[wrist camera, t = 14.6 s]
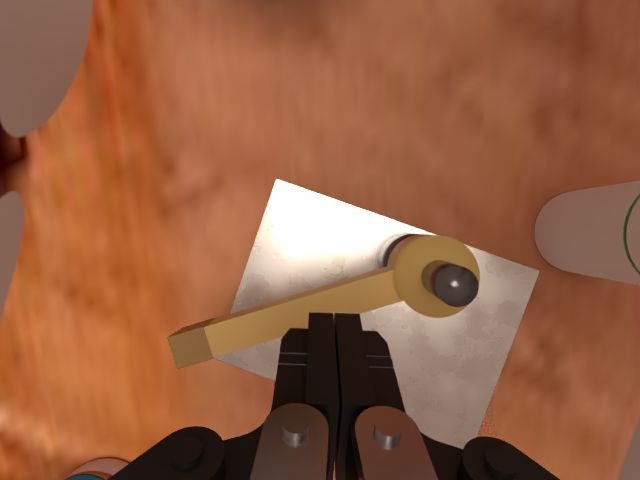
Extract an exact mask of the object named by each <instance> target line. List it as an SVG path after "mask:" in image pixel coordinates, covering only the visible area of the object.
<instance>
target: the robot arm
mask: <svg viewBox="0 0 640 480" xmlns="http://www.w3.org/2000/svg"><path fill="white" fill-rule="evenodd" d="M393 367H394V366H393V362H392V359H391V355H390V351H389V347H388V344H387V342H386V341H385V339H384V338H383V337H382V336H381V335H380V334H379V333H378V332H377V331H363V329H362V324H361V318H360V314H359V313H339V312H335V314H334V317H333V312H310V311H309V320H308V329H305V328H290V329H289V330H288V331H287V332H286V334H285V335H284V336H283V337H282V339H281V345H280V354H279V360H278V367H277V374H276V381H275V388H274V396H273V403H272V409H271V412H270V414H269V415H268V416H267V418H266V420H265V422H264V423H263V424H262V425H261V426H260V427H258V428H257V429H255V430H254V431H252V432H250V433H248V434H245V435H242V436H239V437H235V438H231V439H227V440H224V441H223V440H222V439H221V437H220V436H219V435H218V434H217V433H216V432H215V431H213V430H211V429H209V428H205V427H198V426H195V427H187V428H183V429H180V430H178V431H175V432H173V433H172V434H170V435H168V436H167V437H165V438H164V439H163V440H161V441H160V442H158V443H157V444H156V445H154V446H153V447H152V448H150V449H149V450H147V451H146V452H145V453H143V454H142V455H140V456H139V457H138V458H136V459H135V460H133V461H132V462H131V463H129V464H128V465H126V466H125V467H124V468H122V469H121V470H119V471H118V472H117V473H115V474H114V475H113V476H111V477H110V478H108V479H107V480H333V471H334V460H335V479H336V480H560V479H558V478H557V477H556V476H554V475H553V474H551V473H550V472H549V471H547V470H546V469H545V468H543V467H542V466H540V465H539V464H538V463H536V462H535V461H533V460H532V459H531V458H529V457H528V456H527V455H525V454H524V453H522V452H521V451H520V450H518V449H517V448H515V447H514V446H512V445H511V444H509V443H507V442H505V441H502V440H500V439H497V438H493V437H476V438H473V439H471V440H470V441H468V442H467V443H466V445H465V446H464V448H463V449H461V448H458V447H454V446H451V445H448V444H445V443H442V442H439V441H436V440H434V439H432V438H430V437H428V436H426V435H425V434H423V433H422V432H420V430H419V428H418V426H417V425H416V423H415V422H414V421H413V419H412V418H411V417H409V416H408V415H407V414H406V411H405V408H404V404H403V400H402V396H401V393H400V389H399V385H398V381H397V377H396V374H395V370H394V368H393Z"/></svg>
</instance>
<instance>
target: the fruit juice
mask: <svg viewBox="0 0 640 480" xmlns="http://www.w3.org/2000/svg"><path fill="white" fill-rule="evenodd" d="M128 464H129V463H127V462H125V461H122V460H119V459H113V458H103V459H97V460H93V461H91V462H88V463H86V464H84V465H82V466H80V467H79V468H78V469H76V470H75V471H73V472H72V473H71V474H69V475H68V476H67V477H66V478H65V479H64V480H107V479H108V478H110V477H111V476H113V475H114V474H115V473H117V472H118V471H119V470H121V469H122V468H124V467H125V466H126V465H128Z"/></svg>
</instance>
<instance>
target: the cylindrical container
mask: <svg viewBox="0 0 640 480" xmlns="http://www.w3.org/2000/svg"><path fill="white" fill-rule="evenodd" d="M534 237H535V243H536V246H537V248H538V250H539V252H540V254H541V255H542V257H543V258H544V259H545V260H546V261H547V262H548V263H549V264H551V265H552V266H554V267H555V268H558V269H560V270H562V271H567V272H571V273H577V274H582V275H587V276H592V277H597V278H602V279H608V280H613V281H618V282H623V283H628V284H634V285H639V286H640V180H639V181H633V182H627V183H620V184H614V185H608V186H601V187H595V188H589V189H582V190H576V191H570V192H565V193H562V194H560V195H558V196H556V197H554V198H552V199H551V200H550V201H549V202H548V203H546V204H545V205H544V207H543V208H542V209H541V211H540V212H539V215H538V217H537V219H536V223H535V227H534Z"/></svg>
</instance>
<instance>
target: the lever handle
mask: <svg viewBox="0 0 640 480" xmlns="http://www.w3.org/2000/svg"><path fill="white" fill-rule="evenodd" d="M436 260H443V261H447V262H450V263H453V264H456V265H459V266H462V267H465V268H468V269H469V270H471V271H472V272H473V273H474V274H475V276H476V277H477V280H478V284H479V282H480V270H479V266H478V263H477V260H476V258H475V256H474V255H473V253H472V252H471V251H470V249H469V248H468V247H467V246H465V245H464V244H463V243H461V242H460V241H458V240H456V239H454V238H451V237H447V236H439V235H426V234H419V235H413V236H410V237H407V238H406V239H404V240H402V241H401V242H400V243H398V244H397V245H396V247H395V248H394V249H393V251H392V252H391V254H390V256H389V259H388V264H387V267H383V268H380V269H377V270H374V271H370V272H367V273H364V274H360V275H357V276H354V277H351V278H347V279H344V280H341V281H337V282H334V283H331V284H327V285H324V286H321V287H318V288H314V289H311V290H308V291H304V292H301V293H298V294H295V295H291V296H288V297H285V298H281V299H278V300H275V301H271V302H268V303H265V304H262V305H258V306H255V307H252V308H248V309H245V310H242V311H239V312H235V313H232V314H229V315H225V316H222V317H219V318H213V319H209V320H206V321H203V322H199V323H196V324H193V325H190V326H186V327H183V328H182V329H180V330H178V331H177V332H175V333H174V334H172V335H171V336H169V337H167V338H168V341H169V345H170V348H171V351H172V354H173V357H174V360H175V363H176V366H177V369H180V368H183V367H186V366H190V365H193V364H197V363H200V362H203V361H207V360H210V359H213V358H214V357H217V356H220V355H223V354H227V353H230V352H233V351H237V350H240V349H244V348H247V347H250V346H254V345H257V344H260V343H264V342H267V341H270V340H274V339H277V338H281V337H283V336H284V335H285V334H286V332H287V331H288V330H289V329H290V328H305V329H308V320H309V311H310V312H333V317H334V314H335V312H339V313H359V314H361V313H365V312H368V311H371V310H375V309H378V308H381V307H385V306H388V305H391V304H395V303H398V302H402V301H403V300H404V302H405V303H406V304H407V305H408V306H409V307H410V308H412V309H413V310H414V311H416V312H417V313H419V314H422V315H424V316H427V317H433V318H443V317H448V316H452V315H455V314H457V313H459V312H460V311H462V310H463V309H465V308H466V307H467V306H468V305H469V304H468V305H466V306H463V307H452V306H449V305H447V304H446V303H444V302H443V301H441V300H440V299H439V298H437V297H436V296H434V295H433V294H432V293H430V292H429V291H428V290H426V288H425V287H424V285H423V283H422V272H423V270H424V268H425V267H426V265H428V264H429V263H430V262H432V261H436Z"/></svg>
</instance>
